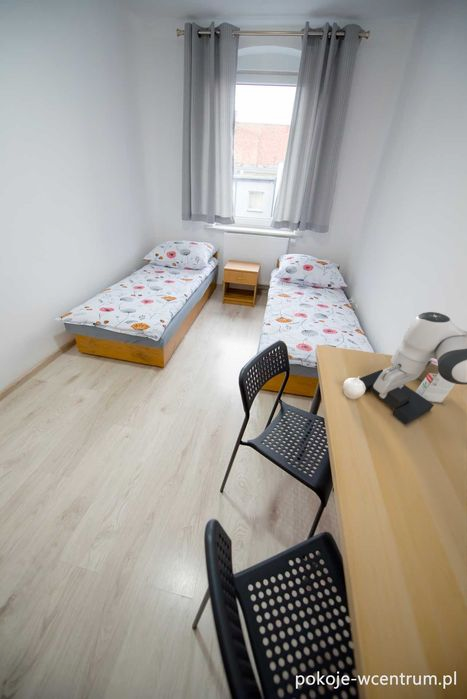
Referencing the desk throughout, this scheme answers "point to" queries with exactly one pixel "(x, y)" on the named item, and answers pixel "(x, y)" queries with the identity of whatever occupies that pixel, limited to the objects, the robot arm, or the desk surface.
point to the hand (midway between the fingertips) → (389, 393)
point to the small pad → (393, 397)
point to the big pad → (413, 406)
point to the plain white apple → (354, 388)
